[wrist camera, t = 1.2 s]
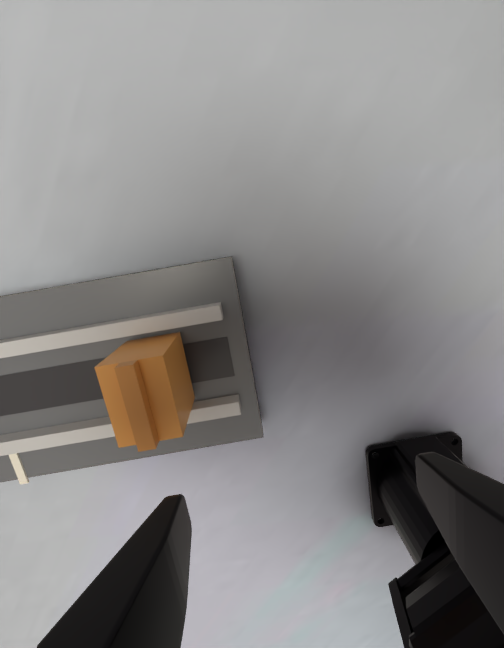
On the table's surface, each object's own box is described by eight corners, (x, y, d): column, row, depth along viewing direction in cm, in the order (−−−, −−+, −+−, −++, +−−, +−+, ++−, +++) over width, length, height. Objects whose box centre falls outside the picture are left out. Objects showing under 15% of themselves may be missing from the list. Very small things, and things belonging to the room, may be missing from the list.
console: (262, 424, 22) (265, 451, 19) (-57, 478, 22) (-103, 514, 19) (230, 251, 19) (229, 251, 16) (-133, 314, 19) (-200, 325, 16)
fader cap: (195, 397, 19) (180, 444, 14) (144, 406, 19) (113, 456, 14) (179, 331, 18) (159, 360, 13) (126, 341, 18) (88, 372, 13)
